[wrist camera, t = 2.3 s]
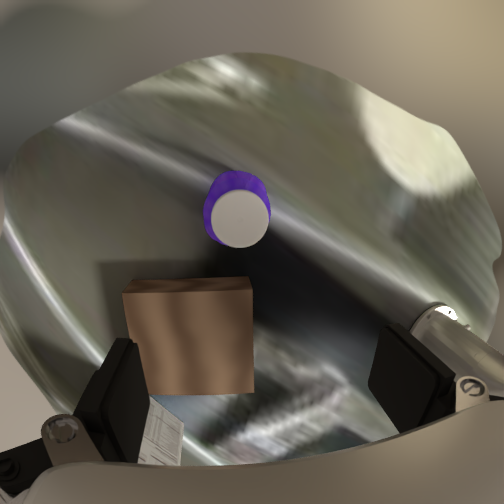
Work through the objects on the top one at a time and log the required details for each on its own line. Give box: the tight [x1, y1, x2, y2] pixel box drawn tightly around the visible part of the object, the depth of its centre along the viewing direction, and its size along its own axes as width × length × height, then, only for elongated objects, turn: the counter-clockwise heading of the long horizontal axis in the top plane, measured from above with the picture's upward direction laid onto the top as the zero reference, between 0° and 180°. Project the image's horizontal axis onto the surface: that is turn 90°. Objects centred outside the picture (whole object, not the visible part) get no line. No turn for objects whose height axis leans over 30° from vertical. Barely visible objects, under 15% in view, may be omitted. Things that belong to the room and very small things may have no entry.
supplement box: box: [138, 396, 184, 466], centre depth 35 cm, size 13×13×18 cm
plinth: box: [122, 276, 254, 395], centre depth 38 cm, size 16×16×5 cm
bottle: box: [203, 171, 271, 248], centre depth 29 cm, size 7×6×17 cm
